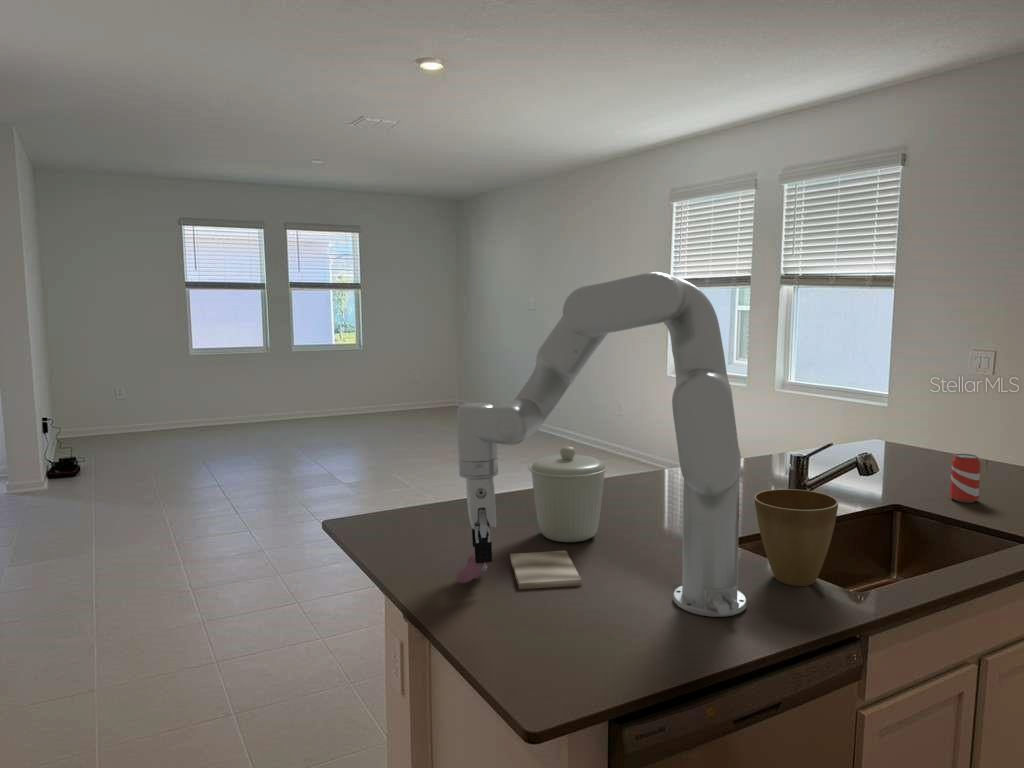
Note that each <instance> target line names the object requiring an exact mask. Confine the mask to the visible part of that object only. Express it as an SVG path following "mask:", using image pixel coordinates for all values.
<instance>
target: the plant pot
mask: <svg viewBox="0 0 1024 768" xmlns="http://www.w3.org/2000/svg"><path fill="white" fill-rule="evenodd" d="M753 499H754V505H755V511H756V517H757V524H758V527H759V533H760V537H761V541H762V543H763V544H762V545H763V548H764V552H765V554H766V557H767V561H768V563H769V566H770V569H771V572H772V574H773V578H774V579H775V580H776V581H778V582H780V583H782V584H785V585H789V586H796V587H805V586H810V585H813V584H815V583H816V581H817V579H818V576H819V574H820V572H821V570H822V568H823V565H824V564H825V563H824V562H825V560H826V557H827V555H828V551H829V548H830V544H831V541H832V537H833V533H834V530H835V525H836V520H837V514H838V509H839V508H838V507H839V500H838V499H837V497H836V498H835V497H834V496H831V495H829V494H826V493H824V492H823V493H822V492H820V491H819V492H818V491H813V490H806V489H798V488H796V489H795V488H794V489H793V488H792V489H790V488H784V489H783V488H780V489H779V488H777V489H769V490H768V489H767V490H762V491H760V492H757V493H756V494H754V498H753Z"/></svg>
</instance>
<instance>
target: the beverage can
mask: <svg viewBox="0 0 1024 768" xmlns="http://www.w3.org/2000/svg"><path fill="white" fill-rule="evenodd" d="M950 468H951V470H950V485H949V487H950V488H949V497H950V498H952V499H953V500H954V501H956V502H960V503H968V504H969V503H970V504H971V503H974V502H975V501H979V499H980V498H979V496H980V495H979V494H980V480H981V478H980V477H981V462H980V460H979V456H978V455H976V454H972V453H955V454H954V457H952V459H951V467H950Z"/></svg>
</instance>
